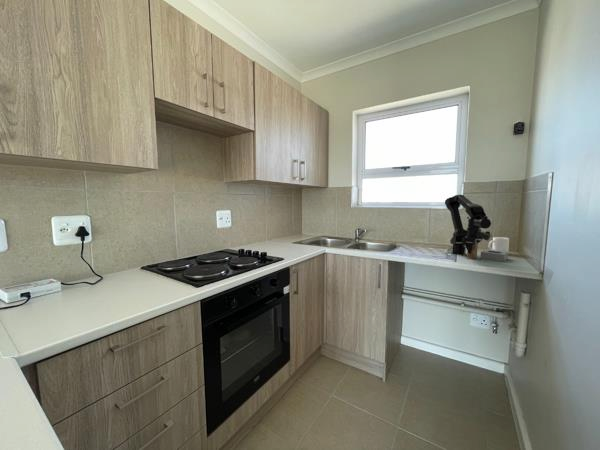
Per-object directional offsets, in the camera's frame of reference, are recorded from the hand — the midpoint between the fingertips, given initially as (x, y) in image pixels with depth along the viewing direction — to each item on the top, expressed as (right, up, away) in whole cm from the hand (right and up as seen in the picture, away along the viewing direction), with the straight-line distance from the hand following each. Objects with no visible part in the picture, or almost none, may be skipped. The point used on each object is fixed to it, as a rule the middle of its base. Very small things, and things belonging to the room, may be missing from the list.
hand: (472, 252), depth 148 cm
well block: (+13, -4, -1) cm, 13 cm away
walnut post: (0, -4, 0) cm, 4 cm away
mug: (+26, -2, +13) cm, 29 cm away
